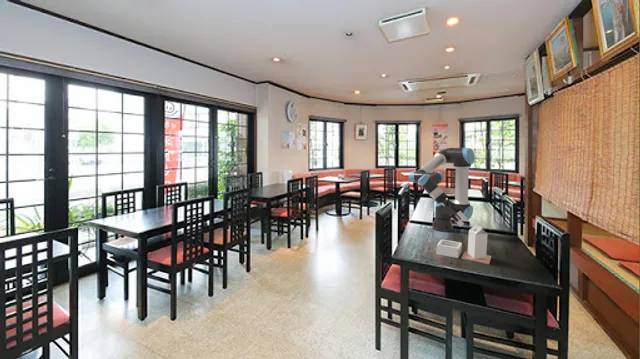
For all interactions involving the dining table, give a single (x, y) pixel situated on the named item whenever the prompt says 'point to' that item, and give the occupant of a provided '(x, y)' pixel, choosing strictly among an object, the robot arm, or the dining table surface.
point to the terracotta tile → (484, 261)
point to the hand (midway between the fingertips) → (464, 222)
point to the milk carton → (477, 242)
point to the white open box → (449, 248)
